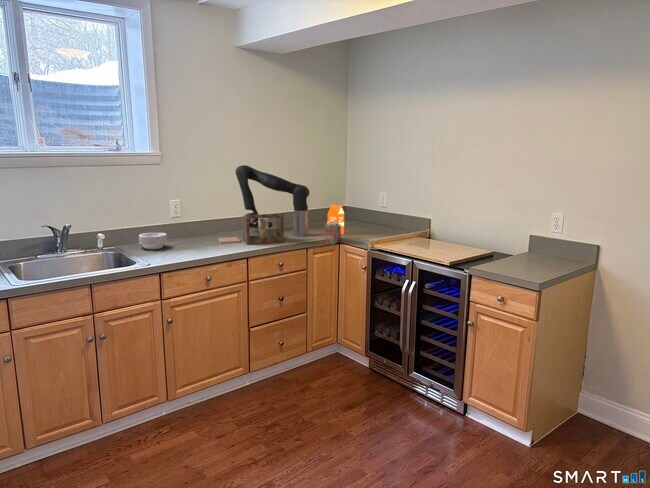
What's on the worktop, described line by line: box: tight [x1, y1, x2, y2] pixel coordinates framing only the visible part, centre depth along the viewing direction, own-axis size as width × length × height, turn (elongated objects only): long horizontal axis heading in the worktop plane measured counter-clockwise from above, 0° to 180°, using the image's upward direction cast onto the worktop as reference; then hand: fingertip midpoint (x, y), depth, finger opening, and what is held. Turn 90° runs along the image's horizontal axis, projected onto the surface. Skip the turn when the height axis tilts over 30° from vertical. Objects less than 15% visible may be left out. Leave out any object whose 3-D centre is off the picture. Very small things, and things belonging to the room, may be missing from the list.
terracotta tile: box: [217, 236, 241, 244], centre depth 304 cm, size 12×12×1 cm
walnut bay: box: [242, 213, 285, 246], centre depth 302 cm, size 23×12×18 cm, turn 111°
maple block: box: [257, 218, 269, 238], centre depth 302 cm, size 5×5×12 cm
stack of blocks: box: [324, 221, 342, 245], centre depth 312 cm, size 21×6×12 cm, turn 168°
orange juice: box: [326, 204, 345, 235], centre depth 333 cm, size 8×9×20 cm
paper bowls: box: [138, 232, 168, 250], centre depth 280 cm, size 15×15×8 cm
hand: (262, 226), depth 302 cm, fingers open, 8 cm apart
